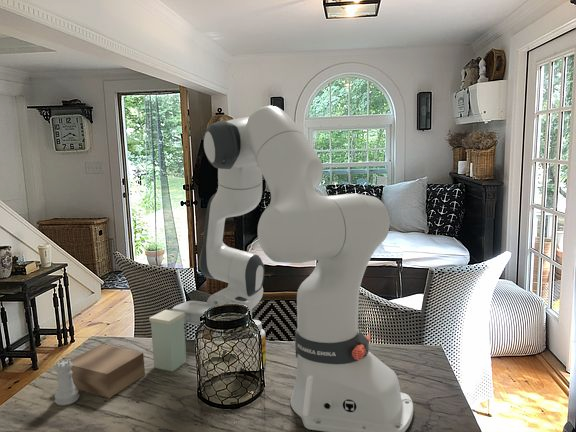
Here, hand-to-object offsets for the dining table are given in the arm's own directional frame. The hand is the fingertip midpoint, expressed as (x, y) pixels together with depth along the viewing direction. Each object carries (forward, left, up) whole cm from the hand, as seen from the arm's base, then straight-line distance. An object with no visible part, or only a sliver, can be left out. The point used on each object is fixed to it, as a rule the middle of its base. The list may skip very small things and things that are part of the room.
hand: (191, 326), depth 112 cm
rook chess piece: (+9, +28, -6) cm, 30 cm away
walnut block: (+8, +19, -6) cm, 21 cm away
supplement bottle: (-18, +2, -6) cm, 19 cm away
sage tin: (0, +8, -6) cm, 10 cm away
